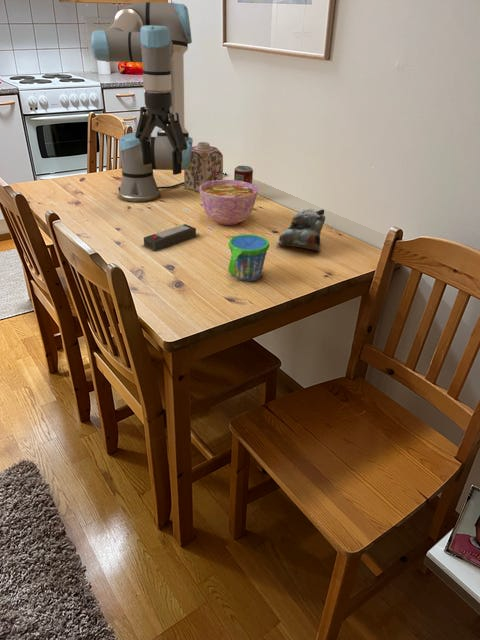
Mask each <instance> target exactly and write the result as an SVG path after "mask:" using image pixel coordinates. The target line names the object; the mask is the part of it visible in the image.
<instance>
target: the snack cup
mask: <svg viewBox="0 0 480 640" xmlns="http://www.w3.org/2000/svg"><path fill="white" fill-rule="evenodd" d="M228 247H229V250H230V253H231V254H230V258H229V263H228V269H227V270H228V273H229V274H230V275H232V276H234V277H235V278H236V279H238V280H239V281H245V282H255V281H256V280H258V279H260V277H262V274H263V269H264V266H265V265H264V264H265V260H266V256H267V253H268V250H269V248H270V243H269V241H268V239H266V238H265V237H263V236H261V235H257V234H238V235H234V236H233V237H231V238H230V239H229V241H228Z"/></svg>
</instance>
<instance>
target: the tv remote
mask: <svg viewBox="0 0 480 640" xmlns="http://www.w3.org/2000/svg"><path fill="white" fill-rule="evenodd" d="M195 237H197V227H194V226H191V225H189V224H186V223H184V224H180V225H178V226H174V227H171V228H168V229H165V230H162V231H158V232H156V233H154V234H150V235H147V236H144V237H143V247H145V248H147V249H150V250H152V251H154V252H156V251H159V250H162V249H165V248H167V247H171V246H173V245H176V244H180V243H181V242H184V241H187V240H190V239H193V238H195Z"/></svg>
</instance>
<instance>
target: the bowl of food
mask: <svg viewBox="0 0 480 640" xmlns="http://www.w3.org/2000/svg"><path fill="white" fill-rule="evenodd" d="M199 190H200V192H199V194H200V195H199V196H200V199H201V203H202V207H203V210H204V213H205V214H206V215H207V217H208V218H210V219H211V220H213V221H215V222H216V223H218V224H220V225H224V226H234V225H237V224H239V223H241V222H244V221H245V220H247V219H248V218H249V217H250V216H251V214H252V212H253V210H254V207H255V204H256V200H257V197H258V193H259V188H258V187H257V186H256V185H255V184H253V183H252V184H250V183H248V182H243V181H236V180H234V179H223V180H215V181H210V182H206V183H204V184H202V185H201V186H200V187H199Z"/></svg>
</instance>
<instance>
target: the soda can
mask: <svg viewBox="0 0 480 640" xmlns="http://www.w3.org/2000/svg"><path fill="white" fill-rule="evenodd" d="M233 174H234V176H233V177H234V178H233V180H236V181H243V182H248V183H250V184H253V176H254V169H253V168H252V167H251V166H249V165H238V166H236V167H235V168H234V173H233Z"/></svg>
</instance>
